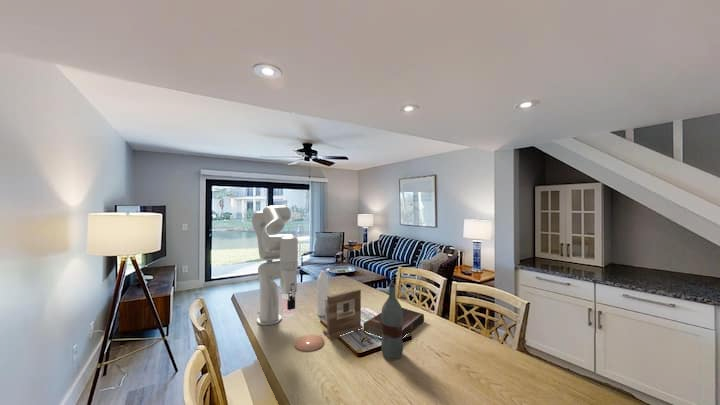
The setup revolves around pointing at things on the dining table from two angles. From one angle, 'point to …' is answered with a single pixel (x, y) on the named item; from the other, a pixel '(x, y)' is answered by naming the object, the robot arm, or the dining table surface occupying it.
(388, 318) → the vodka
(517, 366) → the dining table surface
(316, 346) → the peach round disc
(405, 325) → the hardback book
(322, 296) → the water bottle
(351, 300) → the mount stand
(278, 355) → the dining table surface
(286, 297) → the beverage cup
